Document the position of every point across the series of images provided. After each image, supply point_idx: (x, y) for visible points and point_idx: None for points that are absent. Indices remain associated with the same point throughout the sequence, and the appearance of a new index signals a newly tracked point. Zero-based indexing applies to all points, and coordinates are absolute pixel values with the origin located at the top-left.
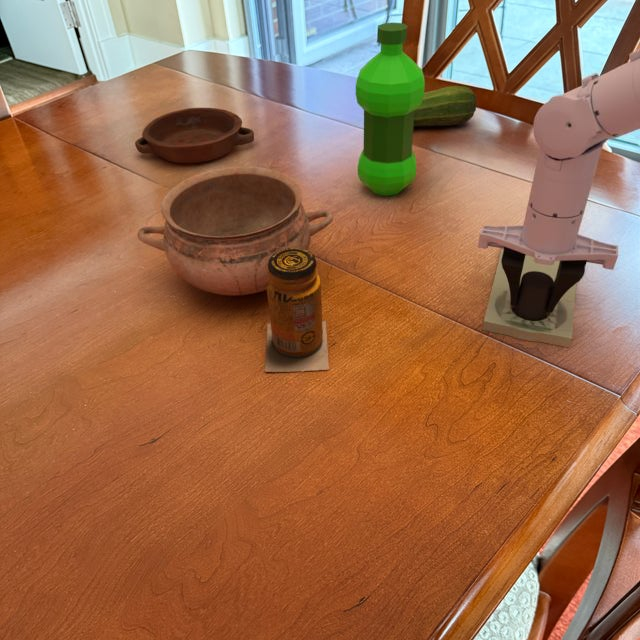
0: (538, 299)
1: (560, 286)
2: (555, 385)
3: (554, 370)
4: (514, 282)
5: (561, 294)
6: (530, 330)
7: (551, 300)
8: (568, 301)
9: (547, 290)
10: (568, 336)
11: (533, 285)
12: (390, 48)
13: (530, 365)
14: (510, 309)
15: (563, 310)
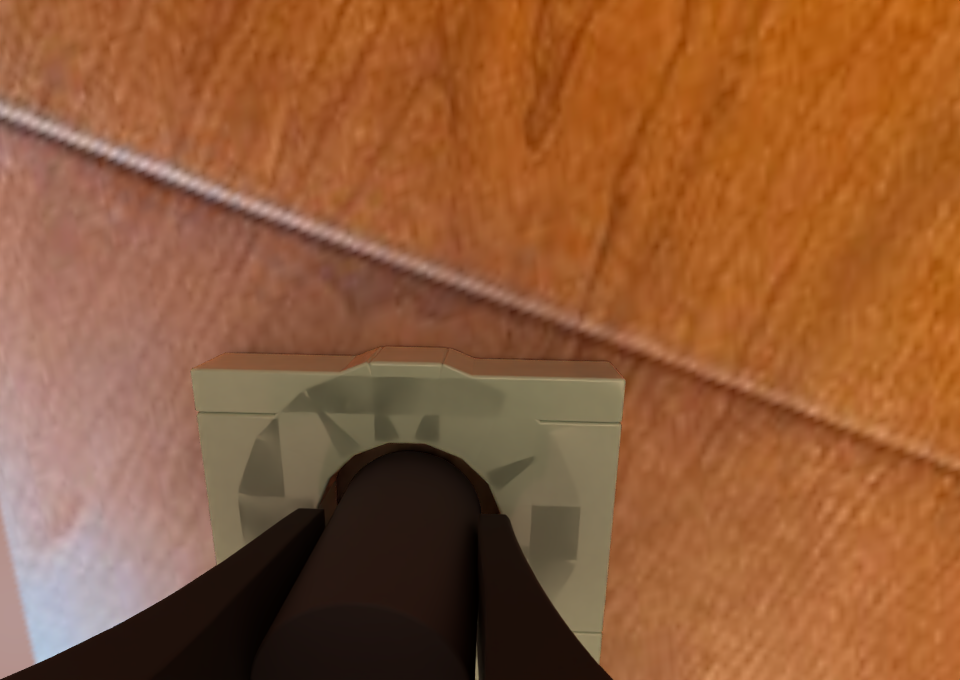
0: (349, 542)
1: (146, 649)
2: (239, 75)
3: (260, 182)
4: (523, 630)
5: (182, 593)
6: (387, 371)
7: (273, 553)
8: None
9: (283, 612)
10: (207, 379)
11: (381, 636)
12: None
13: (367, 182)
14: (501, 499)
15: None
